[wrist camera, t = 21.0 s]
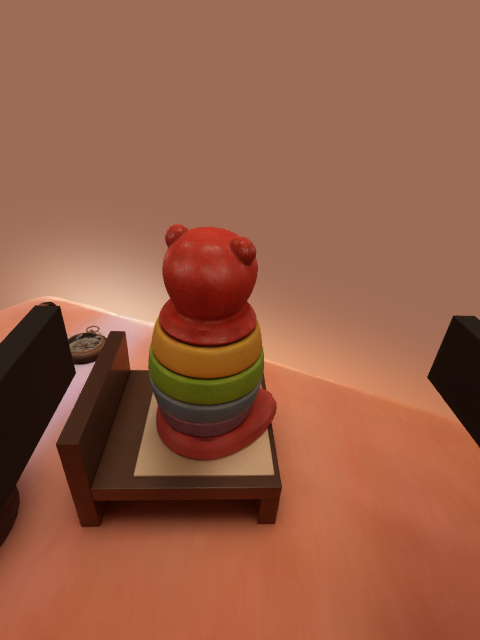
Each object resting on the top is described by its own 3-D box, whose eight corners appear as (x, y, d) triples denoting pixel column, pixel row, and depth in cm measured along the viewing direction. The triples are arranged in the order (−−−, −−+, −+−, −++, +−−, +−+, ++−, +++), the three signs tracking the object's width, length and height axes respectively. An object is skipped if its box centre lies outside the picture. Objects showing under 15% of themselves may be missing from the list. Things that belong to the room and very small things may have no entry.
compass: (104, 364, 47) (95, 316, 43) (40, 364, 46) (26, 316, 42) (117, 331, 54) (110, 287, 50) (62, 330, 53) (51, 286, 49)
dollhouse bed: (259, 404, 42) (267, 334, 37) (275, 523, 30) (290, 444, 25) (121, 403, 41) (110, 330, 36) (81, 526, 29) (55, 444, 24)
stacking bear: (282, 404, 35) (311, 225, 26) (235, 486, 27) (252, 271, 18) (190, 368, 39) (187, 201, 30) (125, 431, 31) (93, 231, 22)
